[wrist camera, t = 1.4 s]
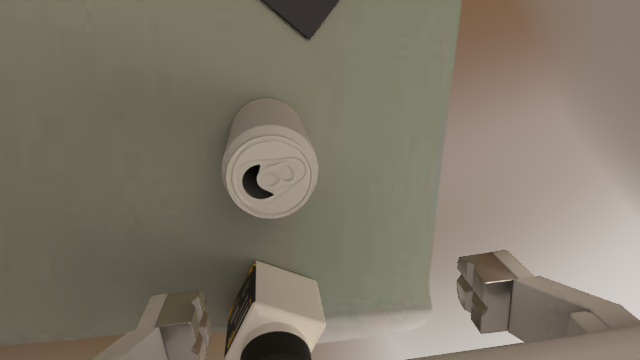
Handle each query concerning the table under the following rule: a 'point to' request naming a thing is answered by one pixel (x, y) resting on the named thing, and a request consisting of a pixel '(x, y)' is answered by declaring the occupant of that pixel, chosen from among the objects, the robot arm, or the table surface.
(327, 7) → the mat
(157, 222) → the table surface
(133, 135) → the table surface
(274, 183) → the beverage can
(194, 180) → the table surface
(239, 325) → the medicine bottle
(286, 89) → the table surface
